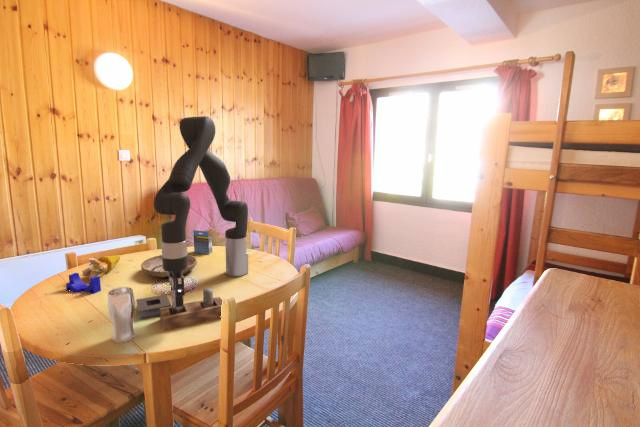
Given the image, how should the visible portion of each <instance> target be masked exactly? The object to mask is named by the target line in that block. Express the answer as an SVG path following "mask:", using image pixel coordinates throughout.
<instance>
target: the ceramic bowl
mask: <svg viewBox="0 0 640 427" xmlns="http://www.w3.org/2000/svg"><path fill="white" fill-rule="evenodd" d="M187 257H188V267H187V268H186V269H184V270H182V271H181V272H182V274H183V275H184V274H187V273H188V272H190V271H192V270H193V269H194V268H195V267H196V266H197V263H198V261H197V258H196V257H195V256H194V255H190V254H187ZM140 269H141V270H142V271H143V272H144V273H145V274H148V275H149V276H152V277H157V278H169V275H168V274H169V272H168V271H165V270H164V269H163V262H162V254H161V255H160V254H159V255H157V256H153V257H149V258H147V259H145V260H143V261H142V263H141V265H140Z"/></svg>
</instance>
